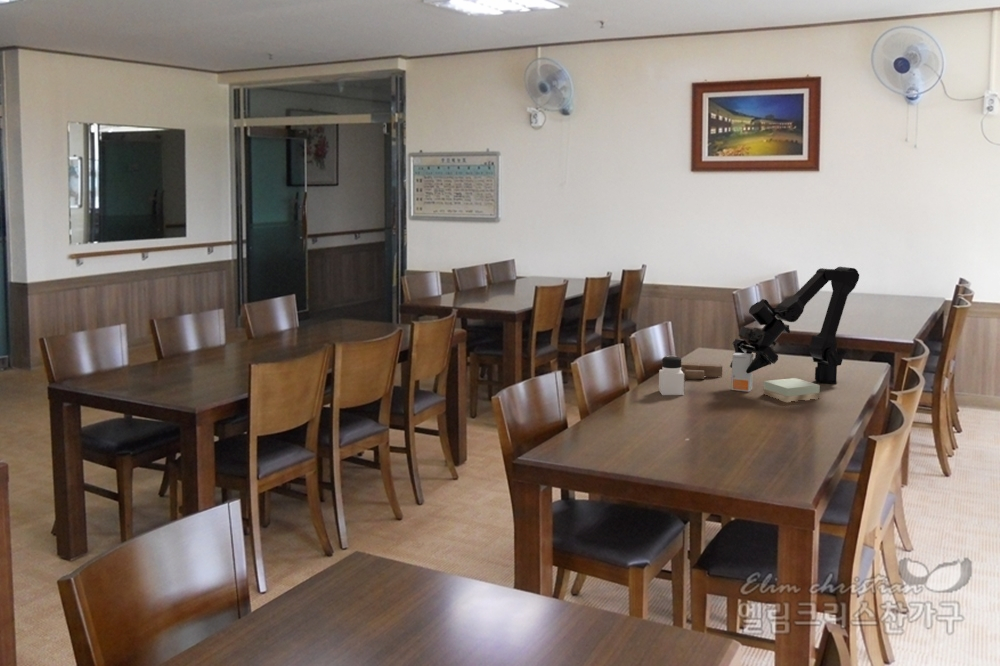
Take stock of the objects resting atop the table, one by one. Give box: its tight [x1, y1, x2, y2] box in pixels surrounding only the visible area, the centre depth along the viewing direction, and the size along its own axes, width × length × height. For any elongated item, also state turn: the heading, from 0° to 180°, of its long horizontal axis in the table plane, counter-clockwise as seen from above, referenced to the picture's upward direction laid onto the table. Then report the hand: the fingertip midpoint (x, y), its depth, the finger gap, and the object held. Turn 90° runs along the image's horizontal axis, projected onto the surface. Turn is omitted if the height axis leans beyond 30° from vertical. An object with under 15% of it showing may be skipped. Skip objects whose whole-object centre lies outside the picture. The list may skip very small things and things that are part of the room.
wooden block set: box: [681, 361, 723, 381], centre depth 325 cm, size 17×6×18 cm
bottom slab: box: [763, 388, 820, 403], centre depth 298 cm, size 12×12×2 cm
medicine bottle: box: [658, 355, 685, 396], centre depth 304 cm, size 7×7×12 cm
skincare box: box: [730, 352, 754, 393], centre depth 307 cm, size 6×4×12 cm
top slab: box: [763, 377, 821, 396], centre depth 297 cm, size 12×12×2 cm
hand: (738, 370), depth 307 cm, fingers open, 9 cm apart
